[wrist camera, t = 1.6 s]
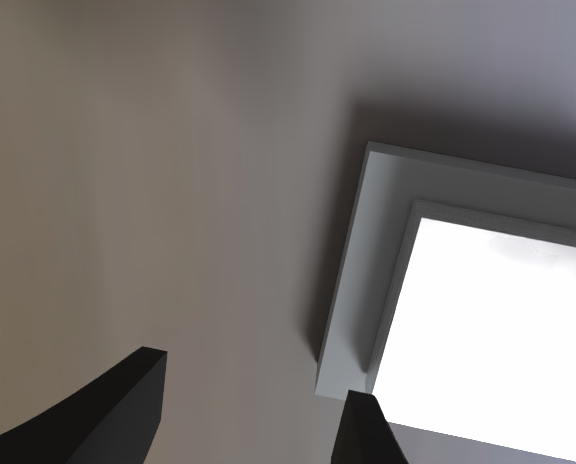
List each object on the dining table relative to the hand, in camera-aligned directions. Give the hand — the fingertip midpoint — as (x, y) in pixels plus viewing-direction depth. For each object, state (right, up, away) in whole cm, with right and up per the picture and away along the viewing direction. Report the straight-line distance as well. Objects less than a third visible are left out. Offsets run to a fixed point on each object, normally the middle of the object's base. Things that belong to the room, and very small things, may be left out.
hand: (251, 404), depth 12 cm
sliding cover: (+8, +1, +6) cm, 10 cm away
